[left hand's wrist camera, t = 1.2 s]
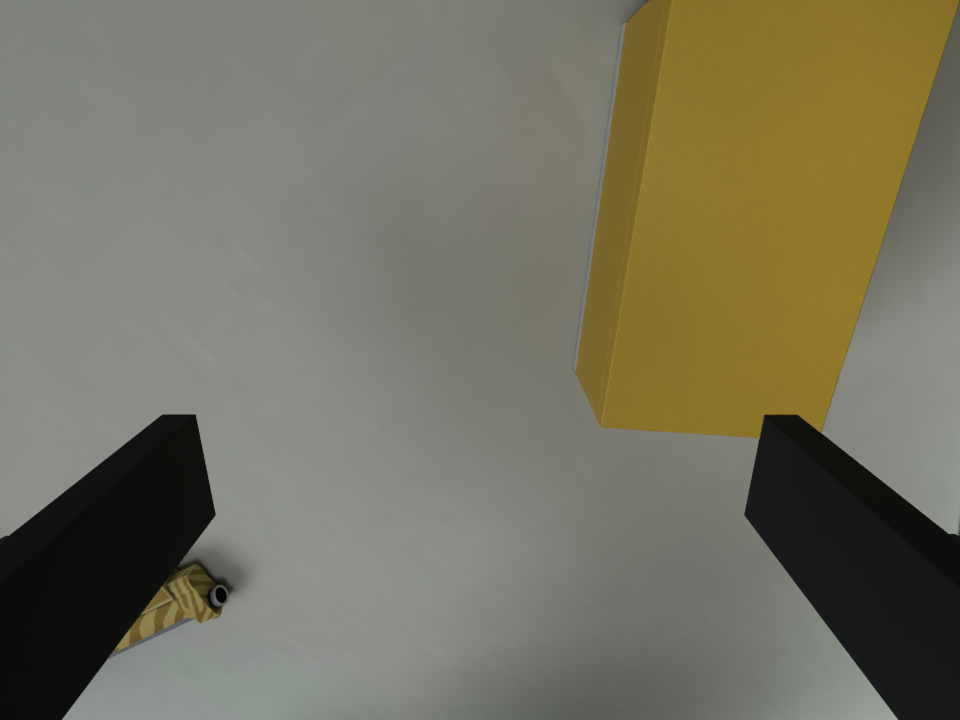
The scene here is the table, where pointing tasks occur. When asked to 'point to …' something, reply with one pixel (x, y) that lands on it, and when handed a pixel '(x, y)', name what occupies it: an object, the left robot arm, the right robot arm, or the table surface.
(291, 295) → the table surface
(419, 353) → the table surface
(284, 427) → the table surface
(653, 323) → the yellow two-tone block
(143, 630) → the handgun
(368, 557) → the table surface
